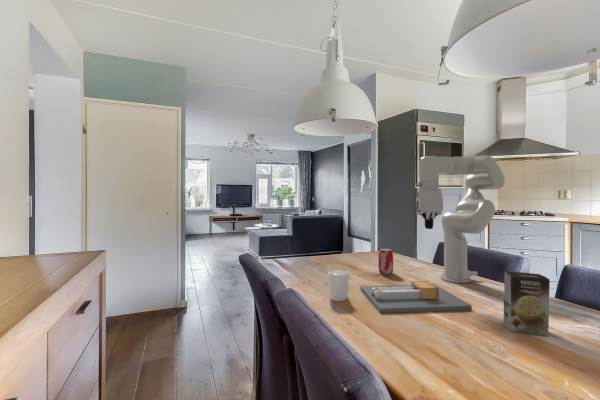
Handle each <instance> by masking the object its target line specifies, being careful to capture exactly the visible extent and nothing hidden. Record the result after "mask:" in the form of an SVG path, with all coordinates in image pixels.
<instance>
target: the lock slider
mask: <svg viewBox="0 0 600 400" xmlns="http://www.w3.org/2000/svg"><path fill="white" fill-rule="evenodd" d="M410 282H411V284H410V285H411V286H415V287H417V288H418V289H420V290H421V298H422V299H439V288H437V287H436V286H434V285H432V283H430V281H429V282H428V281H427V280H417V281H413V280H412V281H410Z"/></svg>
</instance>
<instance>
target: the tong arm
mask: <svg viewBox="0 0 600 400" xmlns="http://www.w3.org/2000/svg"><path fill="white" fill-rule="evenodd" d="M417 289H418V288H417V287H415V286H402V287H372V288H371V294H372V295H374V296H375V291H376V290H379V291H381V290H417Z"/></svg>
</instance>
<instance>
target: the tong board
mask: <svg viewBox="0 0 600 400" xmlns="http://www.w3.org/2000/svg"><path fill="white" fill-rule="evenodd" d="M431 284H432V283H431ZM432 285H434V286H436V287H437V288H439V299H422V298H421V290H420V289H417V290H381V291H379V290H376V291H375V296H374V295H372V294H371V288H372V287H402V286H411V284H399V285H398V284H397V285H396V284H395V285H394V284H393V285H364V286H363V285H361V286H360V289H359V290H360V292H362V294H363V296H365V297H366V298H367V299H368V301H369V302H370V303H371V305H373V306H374V308H375V309H376V310H377V311H378V313H380V314H386V313H387V314H389V313H390V314H393V313H394V314H395V313H419V312H420V313H421V312H448V311H449V312H450V311H451V312H452V311H453V312H454V311H456V312H457V311H472V310H473V307H472V305H471V303H470V304H469V303H468V302H467V301H464V300H462V299H461V298H460V297H458V296H456V295H454V294H452V293H451V292H449V291H447V290H445V289H443V288H441V286H439V285H437V284H435V283H433V284H432Z"/></svg>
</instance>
